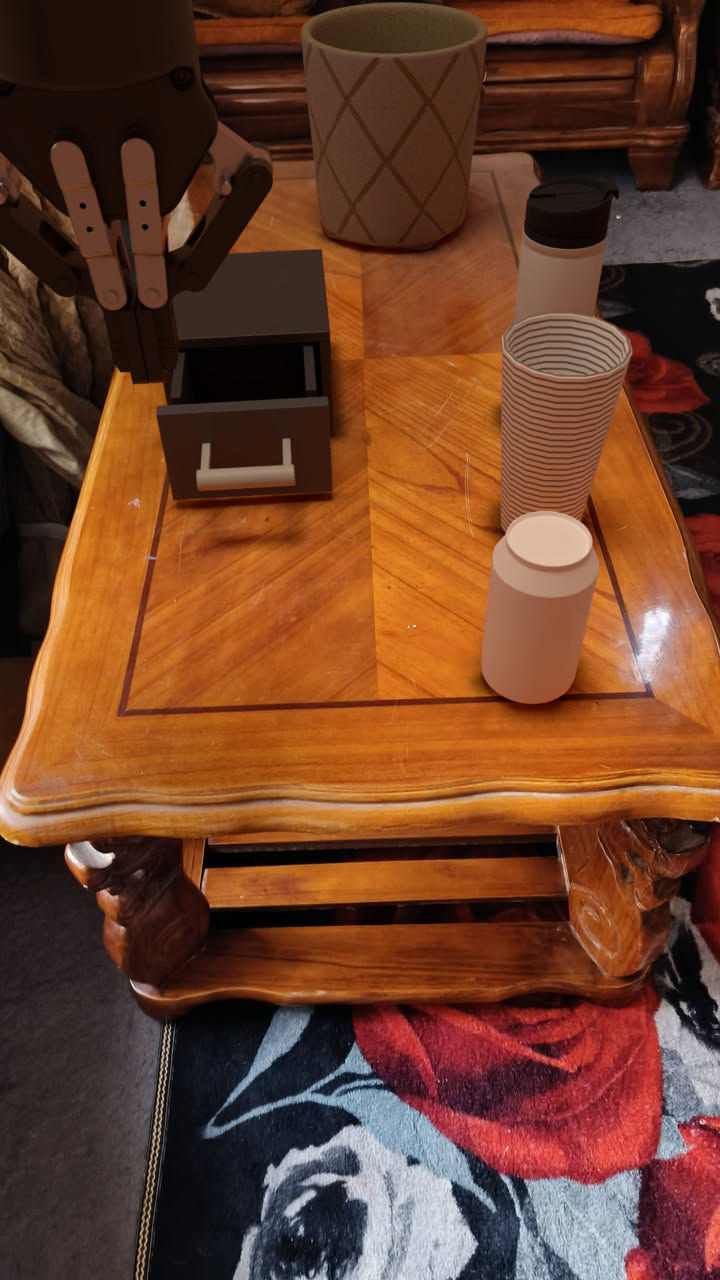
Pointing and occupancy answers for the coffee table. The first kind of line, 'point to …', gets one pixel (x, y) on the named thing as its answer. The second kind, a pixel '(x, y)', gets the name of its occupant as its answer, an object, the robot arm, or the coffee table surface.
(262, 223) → the coffee table surface
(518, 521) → the beverage can
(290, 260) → the single drawer box
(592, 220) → the travel mug
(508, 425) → the cup
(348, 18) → the planter
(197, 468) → the pull-out drawer
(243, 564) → the coffee table surface
